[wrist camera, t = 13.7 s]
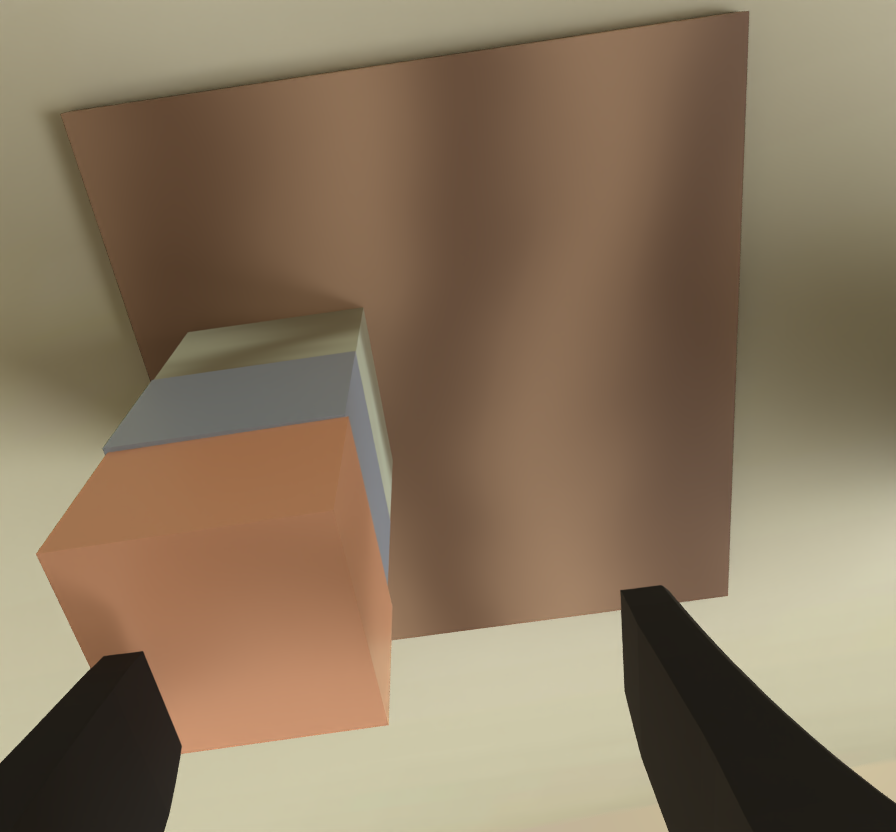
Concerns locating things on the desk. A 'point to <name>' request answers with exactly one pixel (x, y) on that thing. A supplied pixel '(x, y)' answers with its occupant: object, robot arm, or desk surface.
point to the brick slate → (261, 413)
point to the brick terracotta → (235, 581)
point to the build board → (472, 294)
